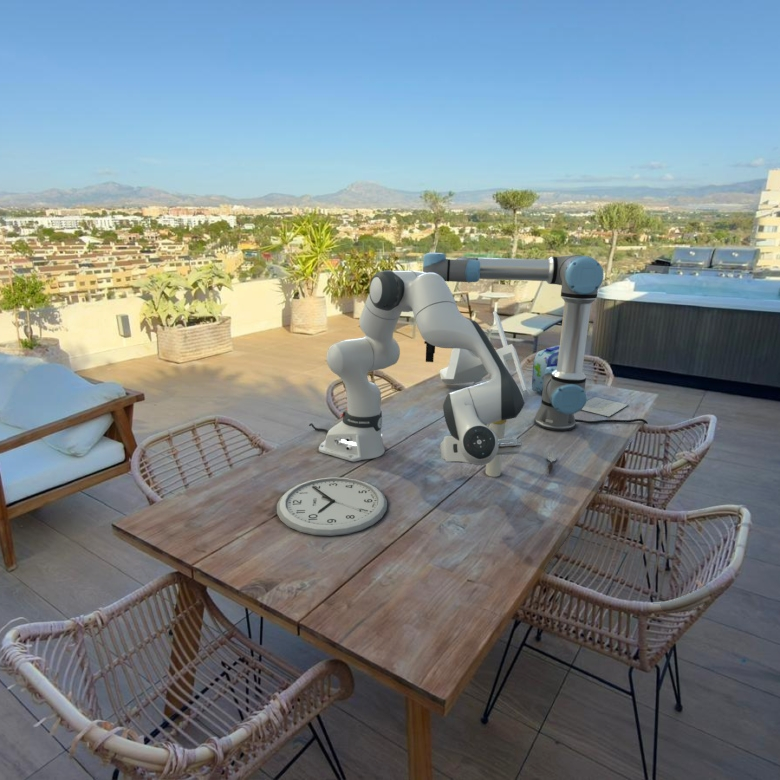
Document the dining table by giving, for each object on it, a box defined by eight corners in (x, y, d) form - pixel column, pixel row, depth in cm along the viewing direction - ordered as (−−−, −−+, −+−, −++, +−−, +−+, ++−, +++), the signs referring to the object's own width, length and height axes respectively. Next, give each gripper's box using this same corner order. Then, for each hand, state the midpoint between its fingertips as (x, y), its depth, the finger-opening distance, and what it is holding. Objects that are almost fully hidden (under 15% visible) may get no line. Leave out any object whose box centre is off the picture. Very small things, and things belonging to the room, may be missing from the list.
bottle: (493, 478, 160) (498, 418, 154) (482, 472, 164) (486, 414, 158) (503, 474, 163) (508, 415, 157) (492, 468, 166) (497, 411, 160)
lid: (497, 425, 154) (498, 417, 154) (484, 420, 158) (485, 412, 158) (509, 421, 157) (510, 414, 157) (496, 416, 161) (497, 409, 161)
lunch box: (548, 398, 236) (553, 353, 229) (527, 393, 243) (531, 349, 237) (575, 387, 253) (581, 344, 247) (555, 382, 260) (560, 341, 254)
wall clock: (392, 527, 129) (268, 531, 127) (391, 533, 130) (269, 537, 127) (383, 473, 158) (282, 475, 155) (383, 478, 158) (282, 480, 156)
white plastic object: (461, 429, 252) (437, 405, 227) (444, 352, 274) (420, 323, 250) (535, 404, 240) (518, 377, 215) (510, 326, 262) (492, 293, 237)
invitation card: (608, 416, 214) (573, 407, 224) (608, 416, 214) (573, 408, 224) (628, 404, 229) (594, 396, 238) (628, 405, 229) (594, 397, 238)
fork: (544, 474, 162) (545, 469, 162) (548, 455, 177) (548, 449, 176) (553, 476, 161) (554, 470, 161) (556, 456, 176) (557, 450, 175)
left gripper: (521, 431, 127) (517, 436, 141) (437, 437, 130) (441, 441, 144) (524, 457, 126) (519, 459, 139) (439, 462, 129) (443, 464, 143)
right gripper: (424, 293, 195) (422, 349, 202) (419, 302, 172) (417, 365, 178) (444, 294, 195) (441, 350, 201) (442, 303, 171) (439, 366, 177)
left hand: (479, 450), depth 142 cm, fingers open, 8 cm apart
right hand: (430, 357), depth 190 cm, fingers open, 13 cm apart
